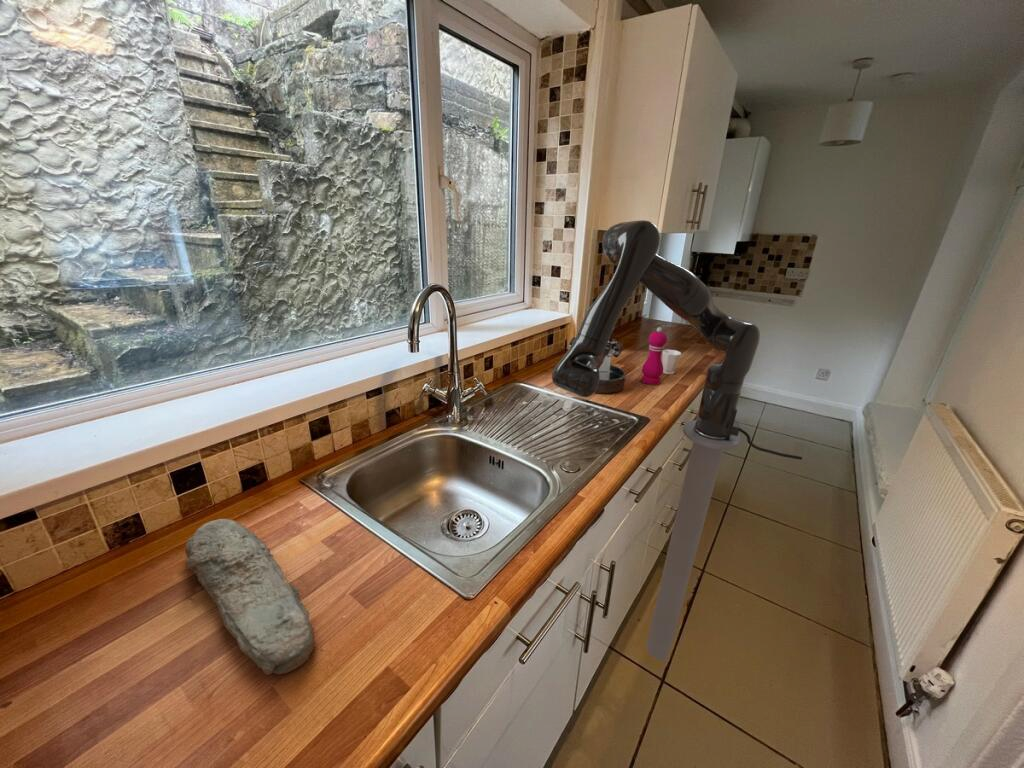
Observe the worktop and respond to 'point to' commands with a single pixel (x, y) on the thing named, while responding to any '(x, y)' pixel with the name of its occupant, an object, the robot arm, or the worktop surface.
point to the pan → (612, 381)
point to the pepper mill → (654, 358)
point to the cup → (670, 360)
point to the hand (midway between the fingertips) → (599, 340)
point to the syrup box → (605, 368)
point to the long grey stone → (251, 595)
